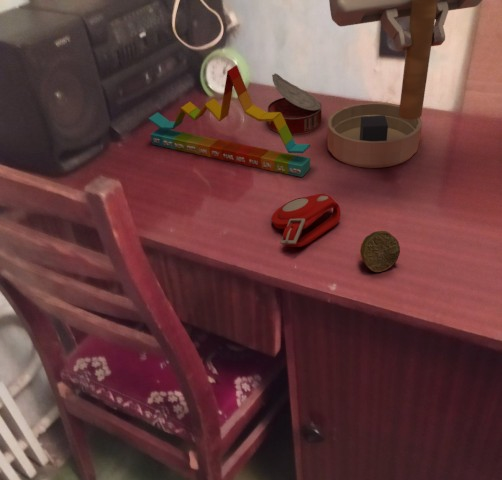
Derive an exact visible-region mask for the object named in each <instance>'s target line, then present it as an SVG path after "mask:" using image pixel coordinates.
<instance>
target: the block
mask: <svg viewBox="0 0 502 480" xmlns="http://www.w3.org/2000/svg"><path fill="white" fill-rule="evenodd" d="M387 132H388V124H387V121H386V117H385V115H383V116H363V117H361V125H360V140H362V141H387Z"/></svg>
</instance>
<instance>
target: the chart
mask: <svg viewBox="0 0 502 480" xmlns="http://www.w3.org/2000/svg"><path fill="white" fill-rule="evenodd" d="M233 88H234V89H233ZM233 90H235V91H234V92H235V93H236V95H237V97H238V101H239V102H240V106H241V107H242V109H243V113H244V114H245V115H247V116H249V117H251V118H252V119H254V120H256V121H258V122H268V121H273V122H274V124H275V126H276V128H277V131H278V133H277V134H278V135H279V137H280V139H281V141H282V143H283V145H284V147H285V149H286V151H287V152H281V151H276V150H272V149H266V148H261V147H256V146H251V145H248V144H242V143H237V142H232V141H228V140H223V139H217V138H213V137H208V136H203V135H199V134H193V133H189V132H184V131H180V130H179V131H178V130H174V129H175V128H177V127H178V126H180V125H181V124H182V123H183V121H184V118H185V116H186V115H187V116H188V117H190V119H192V120H193V121H196V120H198V119H199V118H201V117H202V116H204V115H205V113H206V112H207V110H208V111H209V112H210V113H211V115H212V116H214V117H215V119H216V120H218V122H221V121H223V120H224V119H225V118H227V117H228V116H229V114H230V113H229V112H230V107H231V100H232V95H233ZM148 120H149V121H150V122H151V123H152V124H154V125H155V126H156V127H158V129H156V130H155V131H153V132H151V133H150V138H151V139H150V140H151V144H152V145H155V146H159V147H162V148H167V149H172V150H176V151H181V152H185V153H190V154H195V155H198V156H203V157H208V158H212V159H218V160H223V161H226V162H230V163H235V164H240V165H244V166H250V167H253V168H258V169H263V170H268V171H271V172H276V173H281V174H286V175H291V176H296V177H300V178H303V177H304V176H305V175H306V174H307V173H308V172H309V171H310V170H311V157H308V156H303V155H296V154H305V152H306V151H307V150H308V149H309V148H310V147H311V144H310V143H296V141H295V139H294V137H293V135H291V133H290V131H289V128H288V126H287V124H286V122H285V120H284V118H283V116H282V113H281V112H268V111H265V110H264V109H262V108H260V107H258V106H256V105H255V104H254V103H253V101H252V99H251V96H250V93H249V91H248V89H247V86H246V84H245V82H244V79H243V77H242V74H241V71H240V70H239V67H238V65H237V64H236V65H234V66H233V67H231V68H230V69H228V70H226V77H225V84H224V89H223V96H222V103H221V104H220V103H219V102H218V101H217V100H216V99H215V98H214V97H213V98H211V99H210V100H208V101H207V102H206V103H205V104H204V105H203V106H202V107H201V109H199V107H197V106H196V105H195V104H193V103H192V101H188V102H187V103H186V104H184V105H183V106H181V107H180V108H179V111H178V113H177V116H176V118H175V120H174V121H170V120H169V119H167V118H166V117H165V116H164V115H162V114H161V113H160V112H159V111H158V112H155V113H154V114H153V115H151V116H150V117H148Z"/></svg>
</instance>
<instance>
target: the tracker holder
mask: <svg viewBox="0 0 502 480" xmlns="http://www.w3.org/2000/svg"><path fill="white" fill-rule="evenodd" d="M331 209H332V213H331V215H330V217H328V218H327V219H325V220H324V221H323V222H322V223H320V224H319V225H317V226H316V227H314V228H312V229H311V230H310V231H309V232H307V233H306V234H304V235H303V236H302V230H305V229H307V228H308V227H310V226H311V225H312V224H313V223H314V222H316V221H317V220H318V219H319V218H321V217H322V216H323V215H324V214H325V213H326V212H328V211H330V210H331ZM340 219H341V208H340V205H339V203H338V202H337V201H336V200H335V199H334V198H333V197H332V196H331V195H329V194H326V193H317V194H313V195H307V196H303V197H299V198H296V199H295V198H294V199H291V200H290V201H288V202H286V203H284V204H283V205H282V206H280V207H279V208H278V209H276V210H275V211H274V213H273V214H272V216H271V222H272V224H273V226H274V227H275V228H276V229H279V230H283V233H282V237H281V239H280V244H281V245H285V246H287V247H292V248H300V247H301V248H302V247H304V246H306V245H308V244H310V243H312V242H314V240H316V239H318V238H319V237H320V236H322V235H323V234H325V233H326V232H328V231H329V230H331V229H332V228H333V227H335V226H336V225H337V224H338V222H339V221H340ZM301 236H302V237H301Z"/></svg>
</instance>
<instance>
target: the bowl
mask: <svg viewBox="0 0 502 480" xmlns="http://www.w3.org/2000/svg"><path fill="white" fill-rule="evenodd" d="M399 109H400V104H399V105H398V104H395V103H389V102H362V103H355V104H351V105H347V106H345V107H341V108H339V109H338V110H336V111H335V112H333V113H332V114H331V115H330V116H329V118H328V120H327V136H326V137H327V138H326V145H327V150H328V151H329V152H330V154H331V155H332V156H333V157H334V158H335V159H337V161H339V162H342V163H343V164H346V165H349V166H353V167H358V168H366V169H367V168H368V169H379V168H387V167H388V168H389V167H392V166H393V167H394V166H396V165H400V164H403V163H404V162H406V161H408V160H410V159H411V158H412V157H413V156H414V155H415V154H416V153H417V152H418V149H419V146H420V142H421V135H422V134H421V133H422V128H423V120H422V119H421V117H420V118H417V119H404V118H401V117H400V116H399ZM383 115H385V117H386V121H387V124H388V132H387V141H362V140H360V125H361V117H363V116H383Z"/></svg>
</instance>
